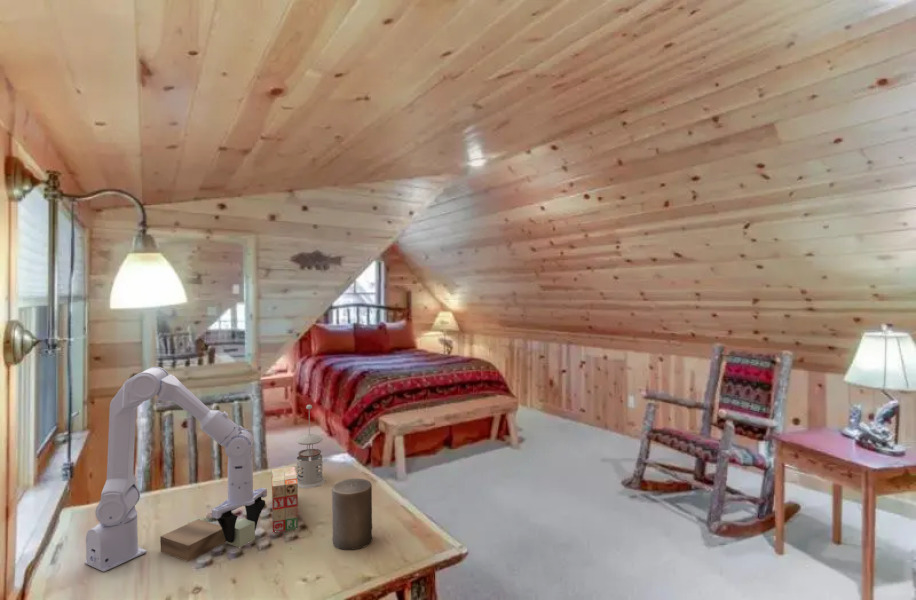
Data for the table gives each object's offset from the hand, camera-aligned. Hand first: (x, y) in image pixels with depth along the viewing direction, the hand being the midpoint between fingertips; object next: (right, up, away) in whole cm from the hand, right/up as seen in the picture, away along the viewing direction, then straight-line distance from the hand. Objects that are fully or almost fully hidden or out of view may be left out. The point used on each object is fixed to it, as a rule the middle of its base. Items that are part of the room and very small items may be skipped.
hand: (241, 535), depth 125 cm
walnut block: (-10, -2, -2) cm, 11 cm away
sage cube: (0, -2, 0) cm, 2 cm away
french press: (+6, -1, +39) cm, 39 cm away
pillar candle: (+27, -2, 0) cm, 27 cm away
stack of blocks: (+5, -1, +15) cm, 16 cm away
